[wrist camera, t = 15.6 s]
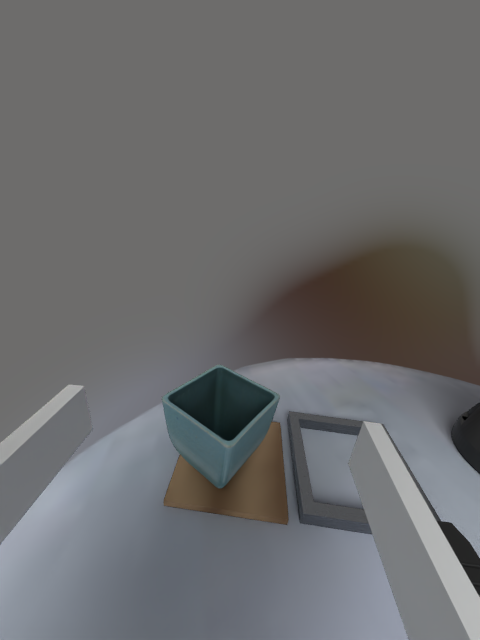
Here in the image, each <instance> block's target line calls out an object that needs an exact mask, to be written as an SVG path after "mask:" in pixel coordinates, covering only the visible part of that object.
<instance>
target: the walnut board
mask: <svg viewBox="0 0 480 640" xmlns="http://www.w3.org/2000/svg"><path fill="white" fill-rule="evenodd" d="M164 506H170V507H177V508H183V509H189V510H196V511H202V512H209V513H215V514H221V515H228V516H234V517H241V518H247V519H254V520H260V521H266V522H273V523H279V524H286V525H287V523H288V520H289V519H288V507H287V496H286V485H285V473H284V462H283V451H282V439H281V428H280V423H278V422H271V424H270V427H269V430H268V432H267V434H266V436H265V438H264V439H263V441H262V442H261V444H260V445H259V446H258V448H257V449H256V450H255V451H254V452H253V454H252V455H251V456H250V457H249V458H248V459H247V461H246V462H245V463H244V464H243V465H242V466H241V468H240V469H239V470H238V471H237V472H236V474H235V475H234V476H233V477H232V478H231V480H230V481H229V482H228V483H227V484H226V485H225V486H224V487H223V488H217V487H215V486H214V485H213V484H212V483H211V482H210V481H209V480H208V479H206V478H205V477H204V476H203V475H202V474H201V473H200V472H198V471H197V470H196V469H195V468H194V467H193V466H191V465H190V464H189V463H188V462H187V461H186V460H185V459H184V458H183V457H182V456H181V455H179V458H178V461H177V464H176V467H175V470H174V472H173V475H172V478H171V481H170V484H169V487H168V489H167V492H166V495H165V498H164Z"/></svg>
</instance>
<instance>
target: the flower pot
mask: <svg viewBox="0 0 480 640" xmlns="http://www.w3.org/2000/svg"><path fill="white" fill-rule="evenodd" d="M279 399H280V396H279V395H278V394H277V393H275V392H273V391H271V390H269V389H267V388H266V387H263V386H261V385H259V384H257V383H255V382H253V381H252V380H249V379H248V378H245V377H243V376H242V375H240V374H238V373H236V372H234V371H232V370H230V369H228V368H227V367H225V366H222V365H216V366H214V367H212V368H211V369H209V370H207V371H206V372H204V373H202V374H200V375H199V376H197V377H196V378H193V379H192V380H190V381H188V382H186V383H185V384H183V385H181V386H179V387H178V388H176V389H174V390H172V391H170V392H169V393H167V394H166V395H164V396H163V397H162V402H163V407H164V413H165V418H166V424H167V428H168V433H169V436H170V439H171V441H172V443H173V445H174V447H175V448H176V450H177V451H178V452H179V454H180V455H181V456H182V457H183V458H184V459H185V460H186V461H187V462H188V463H189V464H190V465H191V466H193V467H194V468H195V469H196V470H197V471H198V472H200V473H201V474H202V475H203V476H204V477H205V478H206V479H208V480H209V481H210V482H211V483H212V484H213V485H214V486H215V487H217V488H223V487H224V486H225V485H226V484H227V483H228V482H229V481H230V480H231V478H232V477H233V476H234V475H235V474H236V472H237V471H238V470H239V469H240V468H241V466H242V465H243V464H244V463H245V462H246V461H247V459H248V458H249V457H250V456H251V455H252V454H253V452H254V451H255V450H256V449H257V448H258V446H259V445H260V444H261V442H262V441H263V439H264V438H265V436H266V434H267V432H268V430H269V427H270V424H271V422H272V419H273V416H274V413H275V410H276V407H277V404H278V402H279Z"/></svg>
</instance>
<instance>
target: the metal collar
mask: <svg viewBox="0 0 480 640" xmlns="http://www.w3.org/2000/svg"><path fill="white" fill-rule="evenodd" d="M287 421H288V429H289V437H290V445H291V453H292V461H293V469H294V477H295V485H296V493H297V501H298V508H299V516H300V523H302V524H308V525H315V526H321V527H328V528H334V529H341V530H347V531H353V532H360V533H366V534H372V531H371V528H370V525H369V522H368V520H367V517H366V514H365V511H364V510H363V509H357V508H350V507H344V506H337V505H330V504H324V503H317V502H314V501H313V495H312V490H311V484H310V479H309V473H308V468H307V462H306V457H305V452H304V446H303V441H302V435H301V430H300V427H301V428H308V429H315V430H322V431H330V432H337V433H344V434H351V435H359V432H360V430H361V427H362V424H363V421H355V420H348V419H341V418H333V417H326V416H319V415H311V414H304V413H297V412H289V414H288V418H287ZM381 425H382V426H383V428H384V430H385V432H386V433H387V435H388V437H389V439H390V440H391V442H392V444H393V446H394V448H395V449H396V451H397V453H398V455H399V456H400V458H401V460H402V462H403V463H404V465H405V467H406V469H407V470H408V472H409V474H410V476H411V477H412V479H413V481H414V483H415V484H416V486H417V488H418V490H419V491H420V493H421V495H422V497H423V499H424V500H425V502H426V504H427V506H428V507H429V509H430V511H431V513H432V514H433V516H434V518H435V520H436V521H441V520H440V518H439V517H438V515H437V513H436V512H435V510H434V508H433V507H432V505H431V503H430V502H429V500H428V498H427V497H426V495H425V493H424V492H423V490H422V488H421V487H420V485H419V483H418V482H417V480H416V478H415V477H414V475H413V473H412V472H411V470H410V468H409V467H408V465H407V463H406V462H405V460H404V458H403V456H402V455H401V453H400V451H399V450H398V448H397V446H396V445H395V443H394V441H393V440H392V438H391V436H390V435H389V433H388V431H387V430H386V428H385V426H384V425H383V424H381Z"/></svg>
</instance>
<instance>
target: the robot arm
mask: <svg viewBox="0 0 480 640" xmlns="http://www.w3.org/2000/svg"><path fill="white" fill-rule="evenodd" d="M92 430H93V426H92V421H91V416H90V411H89V407H88V402H87V397H86V392H85V387H84V386H77V385H68V386H67V387H65V388H64V389H63V390H62V391H61V392H60V393H59V394H57V395H56V396H55V397H54V398H53V399H51V400H50V401H49V402H48V403H47V404H46V405H44V406H43V407H42V408H41V409H40V410H39V411H37V412H36V413H35V414H34V415H33V416H32V417H30V418H29V419H28V420H27V421H26V422H25V423H23V424H22V425H21V426H20V427H19V428H18V429H16V430H15V431H14V432H13V433H12V434H11V435H10V436H9V437H7V438H6V439H5V440H4V441H2V442H1V443H0V544H1V543H2V542H3V541H4V539H5V538H6V537H7V536H8V534H9V533H10V532H11V531H12V529H13V528H14V527H15V526H16V524H17V523H18V522H19V521H20V519H21V518H22V517H23V516H24V514H25V513H26V512H27V511H28V510H29V508H30V507H31V506H32V505H33V503H34V502H35V501H36V500H37V498H38V497H39V496H40V495H41V493H42V492H43V491H44V490H45V488H46V487H47V486H48V485H49V483H50V482H51V481H52V480H53V478H54V477H55V476H56V475H57V474H58V472H59V471H60V470H61V469H62V467H63V466H64V465H65V464H66V462H67V461H68V460H69V459H70V457H71V456H72V455H73V454H74V452H75V451H76V450H77V449H78V447H79V446H80V445H81V444H82V443H83V441H84V440H85V438H87V436H88V435H89V434H90V433H91V431H92ZM452 438H453V441H454V443H455V445H456V447H457V449H458V450H459V451H460V453H461V454H462V455H463V457H464V458H465V459H466V460H467V461H468V462H469V463H470V464H471V465H472V466H473V467H474V468H475V469H476V470H477V471H478V472H479V473H480V403H478V404H477V405H475V406H474V407H472V408H471V409H470V410H469V411H467V412H465V413H464V414H462V415H461V416H460V417H459V418H458V420H457V422H456V423H455V425H454V427H453V429H452ZM348 464H349V467H350V470H351V473H352V476H353V479H354V482H355V485H356V487H357V490H358V493H359V496H360V499H361V502H362V505H363V508H364V511H365V514H366V517H367V520H368V522H369V525H370V528H371V531H372V534H373V537H374V540H375V543H376V546H377V549H378V552H379V554H380V557H381V560H382V563H383V566H384V569H385V572H386V575H387V578H388V581H389V584H390V586H391V589H392V592H393V595H394V598H395V601H396V604H397V607H398V610H399V613H400V616H401V618H402V621H403V624H404V627H405V630H406V633H407V636H408V639H409V640H480V558H479V557H478V555H477V553H476V552H475V550H474V549H473V547H472V546H471V544H470V542H469V541H468V540H467V539H466V538H465V537H464V536H463V535H462V534H461V533H460V532H459V531H458V530H457V528H456V527H455V526H454V525H453V524H452V523H449V522H442V521H436V520H435V518H434V516H433V514H432V513H431V511H430V509H429V507H428V506H427V504H426V502H425V500H424V499H423V497H422V495H421V493H420V491H419V490H418V488H417V486H416V484H415V483H414V481H413V479H412V477H411V476H410V474H409V472H408V470H407V469H406V467H405V465H404V463H403V462H402V460H401V458H400V456H399V455H398V453H397V451H396V449H395V448H394V446H393V444H392V442H391V440H390V439H389V437H388V435H387V433H386V432H385V430H384V428H383V426H382V425H381V423H373V422H365V421H363V424H362V427H361V430H360V432H359V435H358V438H357V441H356V443H355V446H354V449H353V452H352V455H351V457H350V460H349V463H348Z"/></svg>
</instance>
